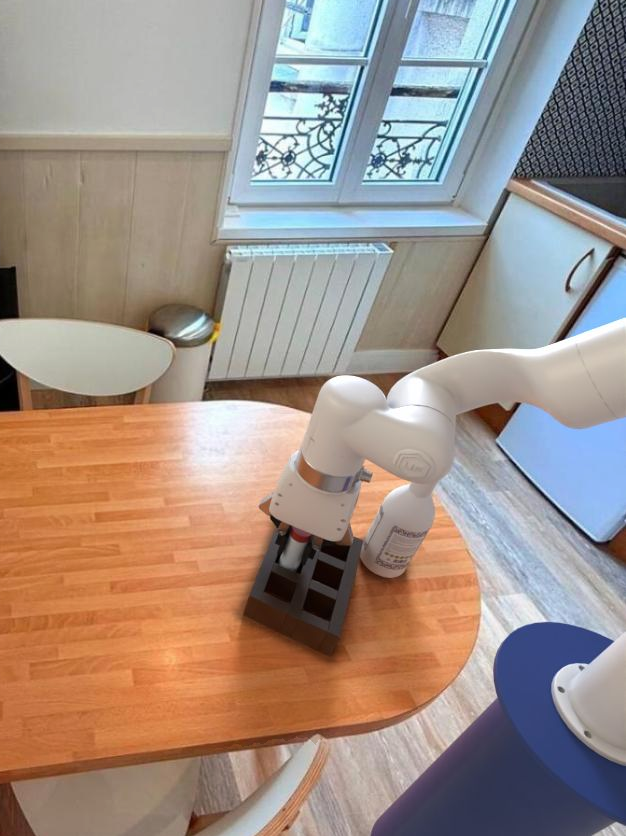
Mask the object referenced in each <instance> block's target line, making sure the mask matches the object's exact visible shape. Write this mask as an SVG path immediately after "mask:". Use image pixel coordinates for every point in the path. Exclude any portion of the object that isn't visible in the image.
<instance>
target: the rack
mask: <svg viewBox="0 0 626 836" xmlns="http://www.w3.org/2000/svg"><path fill="white" fill-rule="evenodd" d="M277 536H278V533H277V527H276V526H275V528H274V531H273V535H272V536H271V539H270V541H269V545H268V546H267V549H266V552H265V554H264V557H263V559H262V562H261V564H260V567H259V569H258V572H257V575H256V577H255V580H254V582H253V585H252V588H251V590H250V592H249V595H248V598H247V601H246V604H245V607H244V610H243V613H242V616H244V617H246V618H249V619H251V620H252V621H255V622H256V623H259V624H261V625H263V626H265V627H267V628H270V629H271V630H273V631H276V632H278V633H280V634H282V635H284V636H286V637H289V638H290V639H292V640H295V641H296V642H299V643H301V644H302V645H305V646H307V647H309V648H312V649H313V650H316V651H318V652H319V653H322V654H324V655H326V656H328V657H330V656H331V654H332V653H333V651H334V650H335V647H336V645H337V643H338V642H339V640H340V639H341V634H342V630H343V626H344V623H345V618H346V614H347V611H348V607H349V602H350V599H351V594H352V591H353V590H352V589H353V586H354V583H355V578H356V573H357V570H358V566H359V562H360V559H361V558H360V554H361V550H362V545H363V541H364V539H362V538H358V537H357V536H354V539H353V543H352V545H351V546H345V545H338V544H335V545H332V546H325V547H321V548H320V550H317V551H316V553H315V556H314V558H313V560H312V559H310V558H308V559H307V562H306V564H305V566H304V565H302V563H300V564H299V567H298V569H297V571H296V572H294V571H292V570H289V569H287V568H285V567H282V566H280V565H278V562H279V559H280V557H281V554H280V555H279V554H277V551H278V549H279V545H277V544H275V542H276V539H277ZM273 595H274V596H273ZM314 614H315V615H314ZM323 618H324V619H323Z"/></svg>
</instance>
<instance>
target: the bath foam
mask: <svg viewBox="0 0 626 836" xmlns="http://www.w3.org/2000/svg"><path fill="white" fill-rule="evenodd" d="M409 482H410V481H409ZM438 483H439V481H436V482H434V483H428V484H420V483H414V482H410V483H408V484H404V485H401V486H398V487H396V488H394V489H393V490H392V491H390V492H389V493H388V494H387V495H386V496H385V498H383V501H382V503H381V504H380V507H379V508H378V511H377V513H376V515H375V516H374V519H373V521H372V522H371V525H370V526H369V528H368V531H367V533H366V535H365V536H364V539H363V540H364V541H363V545H362V550H361V554H360V558H359V559H360V560H361V562H362V563H363V565H364V566H365V567H366V568H367V569H368V570H369V571H370V572H372V574H375V575H377V576H380V577H382V578H388V579H393V578H394V579H395V578H398V577H400V576H401V575H402V574H403V573H404V572H406V569H407V567H408V566H409V565H410V563H411V561H412V560H413V558H414V556H415V554H417V551H418V550H419V548H420V546H421V545H422V543H423V541H424V539H425V538H426V536H427V534H428V533H429V531H430V529H432V528H431V527H432V526H433V524H434V520H435V516H436V507H435V501H434V499H433V497H432V493H433V492H434V490H435V489H436V486H437V484H438Z"/></svg>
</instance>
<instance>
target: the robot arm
mask: <svg viewBox="0 0 626 836" xmlns="http://www.w3.org/2000/svg"><path fill="white" fill-rule="evenodd" d="M499 403H520V404H527V405H529V406H533V407H535V408H538V409H540V410H542V411H544V412H546V413H547V414H549V416H551V417H552V418H553V419H554V420H556V421H557V422H558V423H559V424H560V425H563V426H565V427H567V428H570V429H573V430H583V429H589V428H593V427H595V426H598V425H602V424H606V423H609V422H614V421H617V420H620V419H624V418H626V317H623V318H620V319H617V320H615V321H612V322H608V323H607V324H603V325H601V326H599V327H595V328H593V329H590V330H587V331H584V332H581V333H579V334H576V335H574V336H571V337H568V338H566V339H562V340H559V341H558V342H557V341H556V342H555V343H552V344H549V345H546V346H543V347H542V346H541V347H538V348H532V349H531V348H530V349H529V348H528V349H527V348H495V349H494V348H493V349H477V350H470V351H466V352H461V353H458V354H455V355H454V354H453V355H451V356H448V357H446V358H443V359H441V360H438V361H435V362H433V363H431V364H428V365H426V366H423V367H421V368H419V369H416V370H414V371H412V372H410V373H408V374H406V375H405V376H403V377H402V378H400V379H399V380H397V382H396V383H395V384H394V385H393V386H391V388H390V390H389V392H388V393H387V396H385V394H384V392H383V391H382V390H381V389H380V388H379V387H378V385H376V384H374V383H373V382H371V381H370V380H368V379H365V378H363V377H359V376H354V375H337V376H334V377H332V378H330V379H328V380H327V381H326V382H324V383H323V385H322V386H321V387H320V389H319V393H318V395H317V398H316V401H315V404H314V406H313V409H312V412H311V415H310V418H309V421H308V424H307V427H306V429H305V432H304V435H303V437H302V442H301V443H300V444H301V445H300V447H299V450H297V451H295V452H293V453H292V455H290V457H289V458H288V460H287V462H286V464H285V466H284V467H283V468H282V469H283V470H282V471H281V473H280V476H279V479H278V481H277V484H276V486H275V489H274V491H273V492H271V493H270V494H268V495H267V496H265V497H264V498H262V499H261V500H260V502H259V504H258V509H259V510H260V511H261V512H262V513H264V514H265V515H266V516H269V519H270V521H271V522H272V524H274V525H273V526H275V528H276V527H277V533H278V536H277V539H276V542H275V544H277V545H279V549H278V551H277V554H279V555H280V554H281V555H282V553H283V550H284V547H285V545H286V542H287V539H288V537H289V533H290V529H291V526H294V527H296V528H299V529H301V530H304V531H306V532H308V533H311V534H312V536H311V539H310V540H309V542H308V544H307V547H306V549H305V551H304V554H303V556H302V559H301V562H300V563H302V565H304V566H305V564H306V562H307V559H308V558H310V559H312V560H313V558H314V556H315V553H316V551H317V550H320V548H321V547H325V546H332V545H335V544H338V545H345V546H351V545H352V543H353V539H354V537H355V536H354V533H353V529H352V526H351V520H352V517H353V515H354V512H355V510H356V506H357V503H358V500H359V497H360V493H361V488H362V482H365V483H368V484H370V483H371V480H372V478H373V472H371V471H368V469H366V468H365V465H364V464H365V462H366V461H369V462H370V463H372V464H373V465H375V466H377V467H379V468H381V469H382V470H384V471H386V472H387V473H389V474H391V475H393V476H395V477H397V478H400V479H402V480H404V481H406V482H414V483H420V484H428V483H434V482H436V481H438V482H439V481H441V480H442V479H444V478H445V477H446V476H448V475H449V473H450V471H451V470H452V467H453V464H454V460H455V443H456V442H455V441H456V423H457V422H456V420H457V415H460V414H463V413H466V412H469V411H472V410H476V409H478V408H482V407H485V406H488V405H493V404H499ZM613 641H614V642H613V643H612V644H611V645H610V646H609V647H608V648H607V649H606V650H604V651H603V652H602V653H601V654H600V655H599V656H598V657H597V658H596V659H594V660H593V661H592V662H591V663H590V664H579V663H576V664H570V665H567V666H565V667H563V668H562V669H561V670H559V671H558V672H557V673H556V675H555V676H554V678H553V681H552V684H551V693H552V698H553V701H554V704H555V706H556V709H557V711H558V713H559V714H560V716H561V718H562V720H563V721H564V722H565V724H566V725H567V726H568V728H569V729H570V730H571V731H572V732H573V733H574V734H575V735H576V736H577V737H578V738H579V739H580V740H581V741H582V742H583V743H584V744H585V745H587V746H588V747H589V748H590V749H592V750H593V751H595V752H596V753H598V754H599V755H601V756H603V757H605V758H606V759H608V760H610V761H612V762H615V763H618V764H620V765H623V766H626V631H624V632H623V633H622V634H621V635H620V636H619V637H617V638H616V639H615V640H613Z"/></svg>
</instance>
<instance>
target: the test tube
mask: <svg viewBox="0 0 626 836" xmlns="http://www.w3.org/2000/svg"><path fill="white" fill-rule="evenodd" d="M311 536H312V534H311V533H308V532H306V531H304V530H301V529H299V528H296V527H294V526H291V529H290V533H289V537H288V539H287V542H286V545H285V547H284V550H283V553H282V555H281V557H280V559H279V562H278V565H280V566H282V567H285V568H287V569H289V570H292V571H294V572H296V571H297V569H298V567H299V564H300V562H301V559H302V556H303V554H304V551H305V549H306V547H307V544H308V542H309V540H310V539H311Z"/></svg>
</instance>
